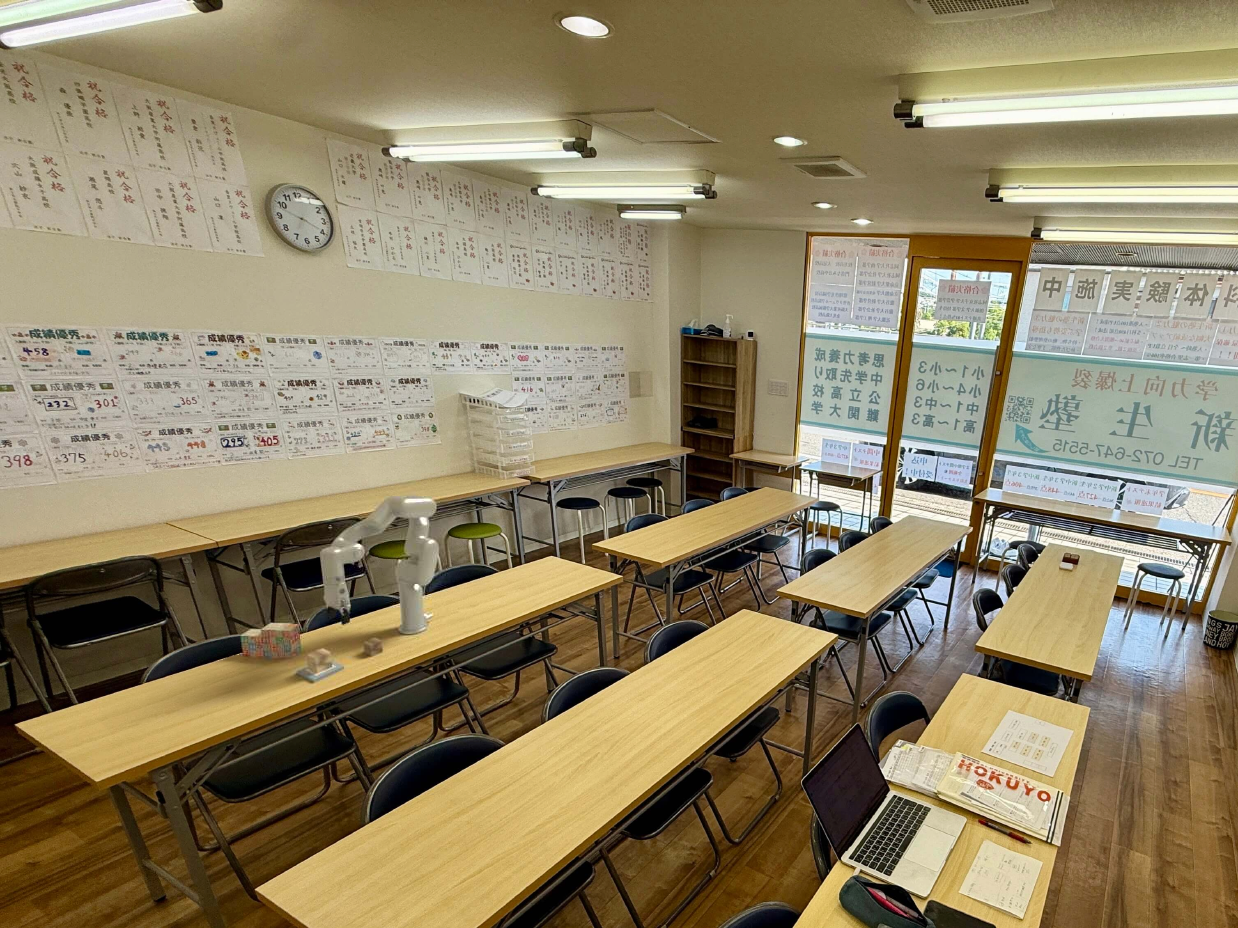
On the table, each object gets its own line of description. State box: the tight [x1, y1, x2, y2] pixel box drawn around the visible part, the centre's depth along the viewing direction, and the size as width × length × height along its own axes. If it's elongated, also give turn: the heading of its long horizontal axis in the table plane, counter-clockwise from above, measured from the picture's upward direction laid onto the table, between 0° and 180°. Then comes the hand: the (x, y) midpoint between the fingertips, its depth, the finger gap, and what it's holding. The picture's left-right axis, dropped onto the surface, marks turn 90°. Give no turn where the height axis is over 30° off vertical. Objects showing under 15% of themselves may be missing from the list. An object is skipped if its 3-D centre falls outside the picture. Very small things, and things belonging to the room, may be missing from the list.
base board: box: [296, 659, 345, 684], centre depth 223 cm, size 12×12×1 cm
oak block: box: [307, 648, 333, 674], centre depth 223 cm, size 6×6×6 cm
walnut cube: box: [363, 637, 384, 657], centre depth 237 cm, size 5×5×5 cm
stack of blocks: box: [240, 622, 302, 659], centre depth 236 cm, size 21×6×12 cm, turn 85°
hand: (338, 620), depth 226 cm, fingers open, 9 cm apart
